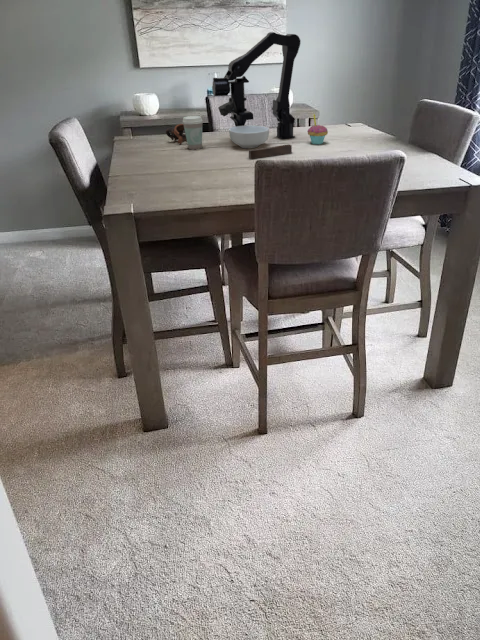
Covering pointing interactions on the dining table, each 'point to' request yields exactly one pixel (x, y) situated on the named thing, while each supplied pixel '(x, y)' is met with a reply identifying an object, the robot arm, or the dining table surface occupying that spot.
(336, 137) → the dining table surface
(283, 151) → the rail
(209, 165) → the dining table surface
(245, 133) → the cereal bowl
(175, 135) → the brown irregular piece
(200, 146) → the coffee cup
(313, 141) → the cupcake
